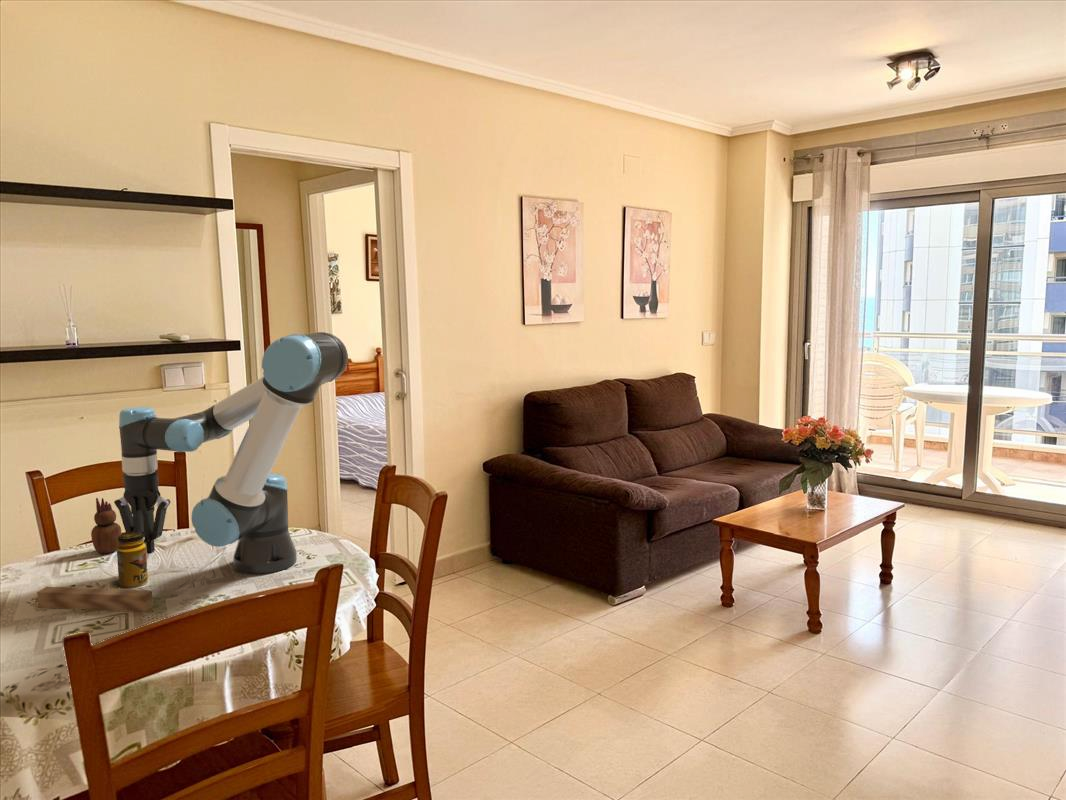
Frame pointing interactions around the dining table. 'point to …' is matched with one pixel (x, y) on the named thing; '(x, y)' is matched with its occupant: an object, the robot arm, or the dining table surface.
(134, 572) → the condiment
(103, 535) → the wooden figurine
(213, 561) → the dining table surface
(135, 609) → the board
